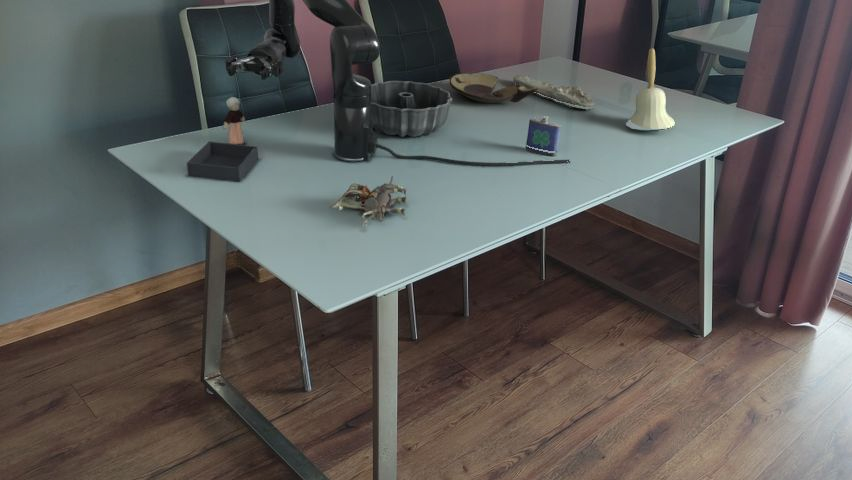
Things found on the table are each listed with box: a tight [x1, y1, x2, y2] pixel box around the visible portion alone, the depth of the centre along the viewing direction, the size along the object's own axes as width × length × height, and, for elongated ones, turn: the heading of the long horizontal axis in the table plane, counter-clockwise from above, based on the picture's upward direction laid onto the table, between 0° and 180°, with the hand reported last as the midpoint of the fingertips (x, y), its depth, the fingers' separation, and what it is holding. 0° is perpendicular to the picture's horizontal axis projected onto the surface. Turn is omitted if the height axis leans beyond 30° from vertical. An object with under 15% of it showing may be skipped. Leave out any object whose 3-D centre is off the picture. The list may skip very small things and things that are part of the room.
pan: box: [186, 141, 260, 183], centre depth 184 cm, size 12×14×3 cm
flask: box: [525, 115, 562, 157], centre depth 212 cm, size 9×3×11 cm, turn 68°
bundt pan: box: [371, 80, 453, 138], centre depth 218 cm, size 26×26×10 cm
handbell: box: [629, 47, 676, 130], centre depth 236 cm, size 15×15×25 cm
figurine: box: [329, 175, 407, 228], centre depth 171 cm, size 20×6×17 cm
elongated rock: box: [512, 75, 596, 109], centre depth 259 cm, size 35×5×10 cm
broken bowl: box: [448, 72, 538, 104], centre depth 247 cm, size 22×30×8 cm
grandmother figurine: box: [222, 96, 246, 145], centre depth 194 cm, size 8×4×13 cm, turn 168°
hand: (246, 74), depth 199 cm, fingers open, 8 cm apart
